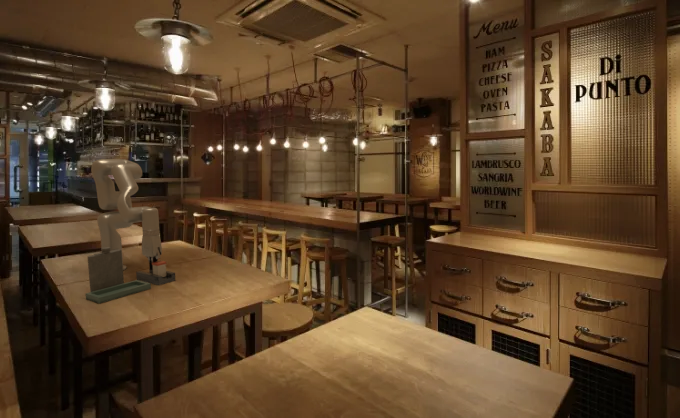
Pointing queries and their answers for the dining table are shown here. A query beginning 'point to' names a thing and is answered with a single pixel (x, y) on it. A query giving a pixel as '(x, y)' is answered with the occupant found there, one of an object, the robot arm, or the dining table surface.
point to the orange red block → (159, 268)
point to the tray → (117, 291)
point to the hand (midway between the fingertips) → (153, 269)
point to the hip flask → (105, 269)
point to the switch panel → (155, 277)
